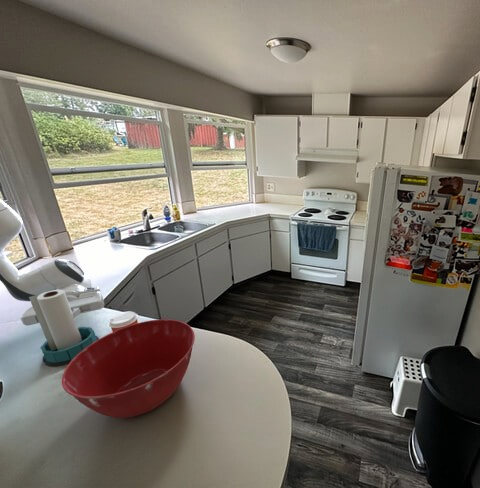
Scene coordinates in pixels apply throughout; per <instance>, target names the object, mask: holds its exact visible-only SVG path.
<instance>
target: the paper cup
mask: <svg viewBox="0 0 480 488" xmlns="http://www.w3.org/2000/svg"><path fill="white" fill-rule="evenodd" d="M138 318H139V315H138V313H136V312H135V311H132V310H131V311H129V310H128V311H122V312H119V313H117V314H115V315H114V316H112V317H111V318H110V319H109V323H108V327H110V328H111V331H112V332H114V331H117V330H119V329H122V328H124V327H127V326H130V325H133V324H137V323H139V322H138Z"/></svg>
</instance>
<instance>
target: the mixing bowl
mask: <svg viewBox="0 0 480 488" xmlns="http://www.w3.org/2000/svg"><path fill="white" fill-rule="evenodd" d="M195 340H196V335H195V331H194V329H193V328H192V326H190V325H189V324H187V323H186V322H184V321H181V320H176V319H170V318H169V319H168V318H161V319H151V320H146V321H141V322H138V323H137V324H133V325H130V326H127V327H124V328H122V329H119V330H117V331H114V332H113V331H112V332H110V333H107V334H106V335H104V336H102V337H100V338H99V340H97V341H95V342H94V343H92V344H91V345H89V346H88V347H86V348H85V349H84V350H82V351H81V352H80V353H79V354H78V355H77V356H76V357H75V358H74V359H73V360H72V361H71V362H70V363H69V364H67V366H66V367H65V369H64V371H63V373H62V375H61V386H62V389H63V391H65V392H66V393H67V394H68V395H70V396H72V397H74V399H76V400H77V401H78V402H80V404H81V405H84V406H85V407H86V408H89V409H90V410H91V411H93V412H96V413H98V414H99V415H103V416H106V417H109V418H114V419H127V418H133V417H134V418H135V417H137V416H140V415H143V414H146V413H148V412H150V411H152V410H154V409H156V408H157V407H159V406H161V405H162V404H164V402H166V401H167V400H168V399H169V398H170V397H171V396H172V395H173V394H174V393H175V392H176V391H177V389H178V388H179V386H181V383H182V381H183V379H184V377H185V374H186V372H187V371H188V367H189V364H190V361H191V357H192V352H193V347H194V344H195Z"/></svg>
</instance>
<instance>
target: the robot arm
mask: <svg viewBox="0 0 480 488" xmlns="http://www.w3.org/2000/svg"><path fill="white" fill-rule="evenodd" d="M23 227H24V225H23V219H22V218H21V217H20V215H19V214H18V213H17V212H16V211H15V210H14V209H13V208H12V207H11V206H9V205H8V204H7V203H6V202H5V201H3V200H2V199H1V198H0V282H1V283H2V284H3V285H4V287H5V288H6V290H7V292H8V294H10V296H11V297H12V298H13V299H15V300H16V301H21V302H31V301H30V299H29V297H32V296H35V295H38V294H41V293H44V292H48V291H52V290H64V291H65V294H66V297H67V300H68V302H69V305H70V308H71V311H72V315H73V316H72V318H74V319H75V318H76V317H78V316H80V315H81V314H85V313H89V312H94V311H95V312H96V311H99V310H102V309H103V308H104V307H105V300H104V297H103V295H102V291H101V289H100V288H99V287H98V286H97V287H95V286H94V287H93V283H92V279H91V278H90V277H89V276H88V275H86V274H85V272H84V271H83V269H82V268H81V267H80V266H79V265H78V264H76V263H75V262H73V261H71V260H67V259H62V258H61V259H59V258H57V259H55V260H52V261H49V262H48V263H46V264H43V265H42V266H40V267H38V268H34V269H33V270H30V271H29V272H27V273H22V272H20V271H19V269H18V268H17V267H16V266H15V265H14V264H13V262H12V261H11V260H10V259H9V258H8V257H7V255H6V254H5V251H6V248H7V246H9V244H10V243H11V242H13V241H14V239H16V238H17V237H18V235H19V234H20V233H21V232H22V229H23ZM20 321H21V323H22V324H23V325H24V326H27V327H28V326H32V325H36V324H40V323H39V320H38V318H37V316H36V313H35V311H34V308H33V306H31V307H29V308H28V309H26V310H25V311H24V312H23V313H22V314H21V315H20Z"/></svg>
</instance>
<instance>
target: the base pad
mask: <svg viewBox="0 0 480 488" xmlns="http://www.w3.org/2000/svg"><path fill="white" fill-rule="evenodd" d="M77 327H78V330H79V333H80V336H81V338H82V342H81V343H79V344H77V345H74V346H72V347H70V348H67V349H63V350H58V349H56V350H53V351H51V349H50V346H49V344H48V342H47V340H46V341H44V342H43V344H42V345H41V346H40V349H41V352H42V354H43V355H42V363H43V364H44V366H47V367H61V366H66V365H68V364H69V363H70V362H71V361H72V360H73V359H74V358H75V357H76V356H77V355H78V354H79V353H80V352H81V351H82V350H84V349H85V348H86V347H88V346H89V345H91V344H92V343H94V342H95V341H97V340H99V339H100V338H99V336H97V335H96V332H95V330H94V329H93V328H92V327H89V326H77Z"/></svg>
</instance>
